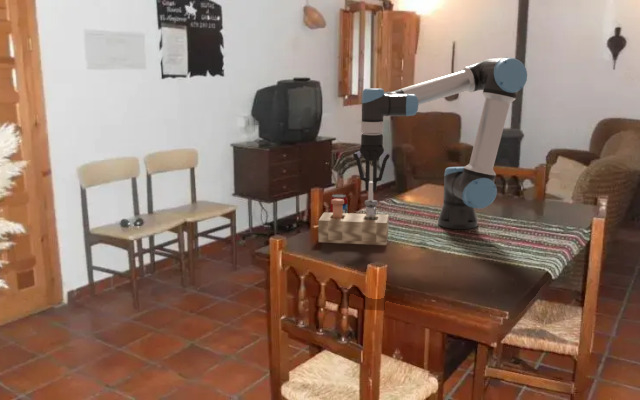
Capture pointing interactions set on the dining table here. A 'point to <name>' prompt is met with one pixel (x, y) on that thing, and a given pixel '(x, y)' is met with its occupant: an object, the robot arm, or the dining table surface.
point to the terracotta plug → (337, 208)
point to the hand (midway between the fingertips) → (370, 199)
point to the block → (353, 229)
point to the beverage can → (345, 205)
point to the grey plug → (371, 209)
